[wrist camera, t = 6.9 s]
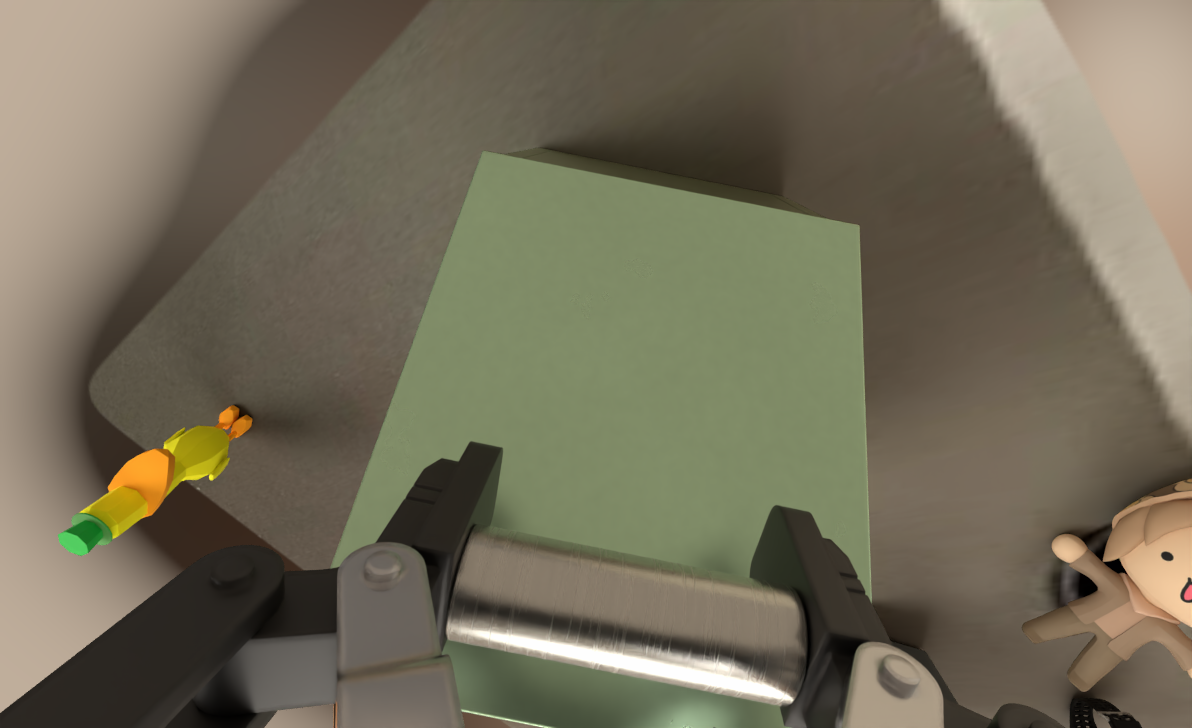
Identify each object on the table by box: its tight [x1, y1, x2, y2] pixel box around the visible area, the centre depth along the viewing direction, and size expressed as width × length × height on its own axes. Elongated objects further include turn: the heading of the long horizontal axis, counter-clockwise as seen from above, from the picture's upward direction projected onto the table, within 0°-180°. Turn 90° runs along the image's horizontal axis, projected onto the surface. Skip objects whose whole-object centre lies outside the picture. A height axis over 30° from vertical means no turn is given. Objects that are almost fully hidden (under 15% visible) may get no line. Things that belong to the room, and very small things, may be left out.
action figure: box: [1022, 479, 1192, 692], centre depth 34 cm, size 10×11×15 cm
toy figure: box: [58, 405, 253, 556], centre depth 33 cm, size 7×4×12 cm, turn 139°
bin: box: [504, 148, 827, 219], centre depth 29 cm, size 16×14×11 cm
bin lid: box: [330, 151, 872, 728], centre depth 15 cm, size 17×14×6 cm
